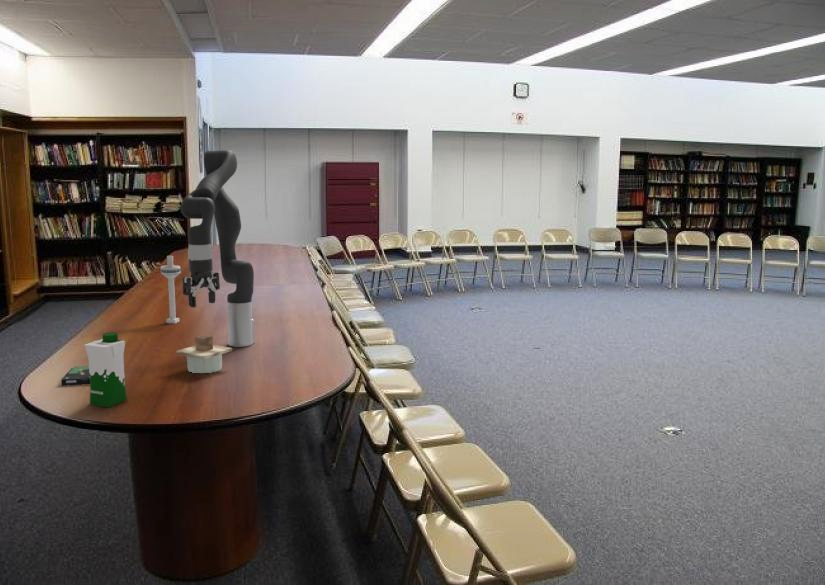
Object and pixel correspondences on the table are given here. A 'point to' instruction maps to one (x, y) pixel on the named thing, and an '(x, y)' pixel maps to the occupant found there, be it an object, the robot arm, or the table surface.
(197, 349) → the birch lid
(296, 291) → the table surface
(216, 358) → the green bowl
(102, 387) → the milk carton
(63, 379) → the disk drive
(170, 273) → the model tower
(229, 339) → the robot arm
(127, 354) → the table surface
